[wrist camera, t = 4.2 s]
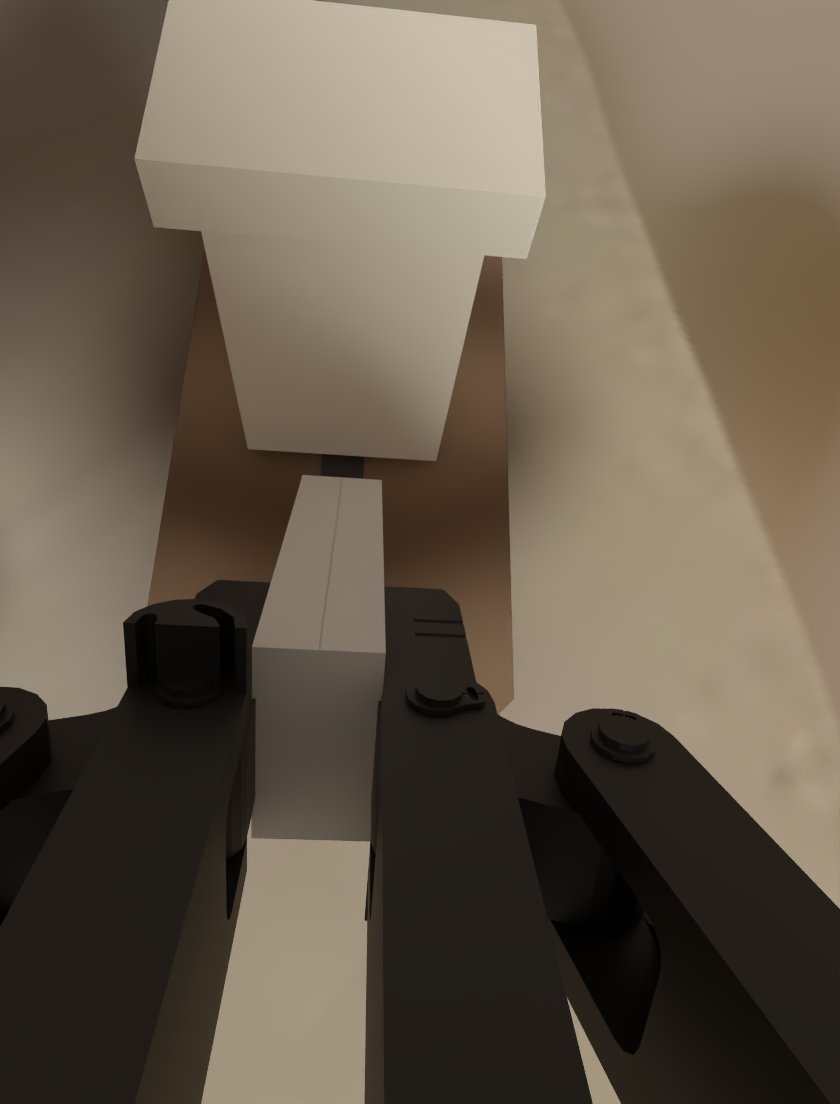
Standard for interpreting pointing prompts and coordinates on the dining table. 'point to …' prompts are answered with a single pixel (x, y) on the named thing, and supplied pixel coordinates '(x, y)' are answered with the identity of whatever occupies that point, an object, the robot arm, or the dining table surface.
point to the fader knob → (344, 202)
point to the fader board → (407, 485)
